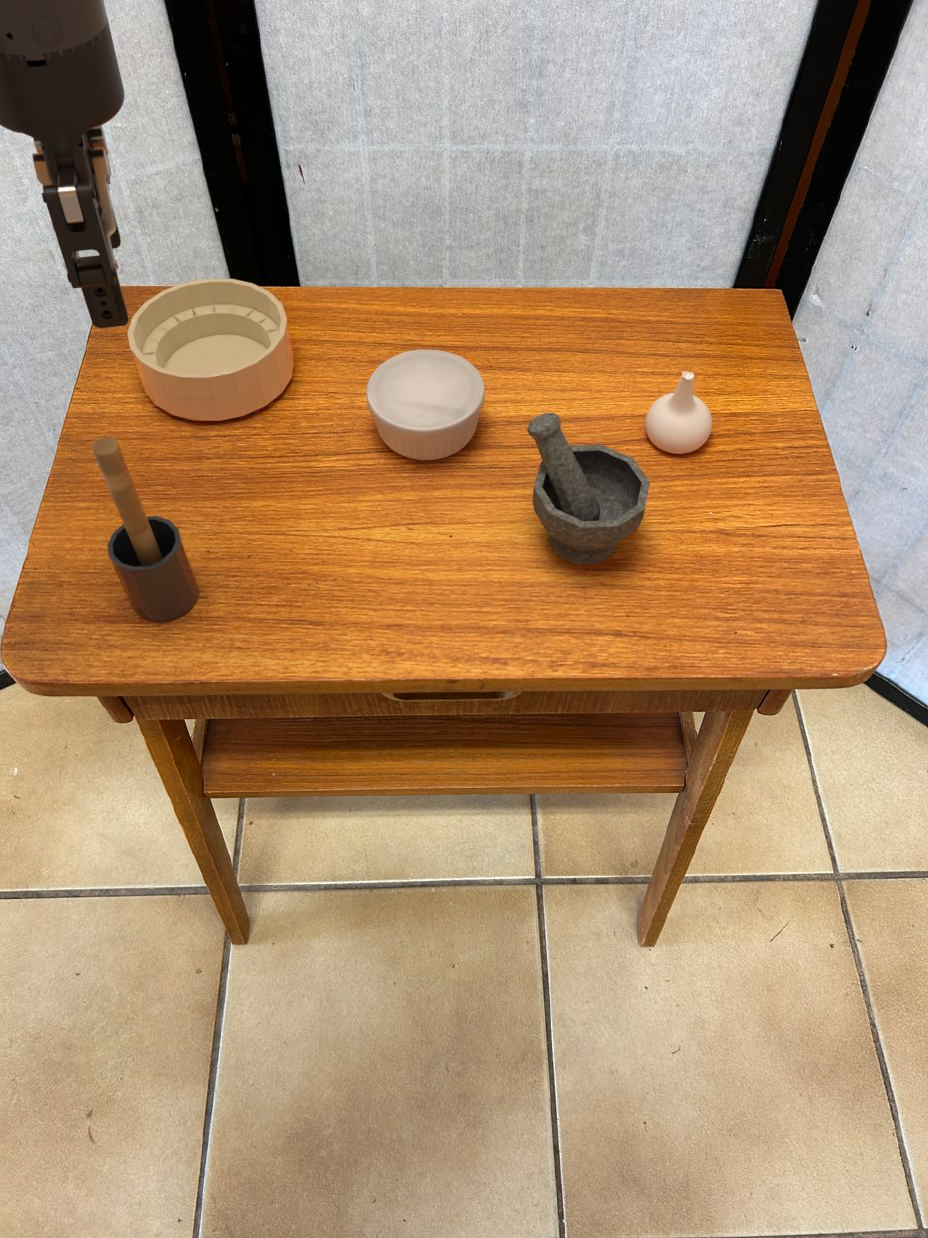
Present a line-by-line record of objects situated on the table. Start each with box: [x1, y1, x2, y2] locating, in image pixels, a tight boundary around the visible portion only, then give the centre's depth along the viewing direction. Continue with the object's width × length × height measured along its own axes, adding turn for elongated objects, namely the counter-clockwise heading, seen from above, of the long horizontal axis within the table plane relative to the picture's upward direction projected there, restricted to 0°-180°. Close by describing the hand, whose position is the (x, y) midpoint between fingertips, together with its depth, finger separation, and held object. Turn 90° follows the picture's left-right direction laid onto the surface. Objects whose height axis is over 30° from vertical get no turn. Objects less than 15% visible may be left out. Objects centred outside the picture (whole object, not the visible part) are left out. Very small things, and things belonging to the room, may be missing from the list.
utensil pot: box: [107, 515, 200, 623], centre depth 78 cm, size 6×6×7 cm
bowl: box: [126, 278, 295, 422], centre depth 95 cm, size 15×15×6 cm
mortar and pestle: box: [526, 412, 651, 565], centre depth 81 cm, size 11×9×12 cm
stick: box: [91, 436, 163, 566], centre depth 74 cm, size 2×2×17 cm
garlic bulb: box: [644, 371, 713, 455], centre depth 90 cm, size 6×6×8 cm
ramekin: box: [365, 349, 486, 461], centre depth 91 cm, size 11×11×5 cm
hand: (108, 283), depth 63 cm, fingers open, 8 cm apart
